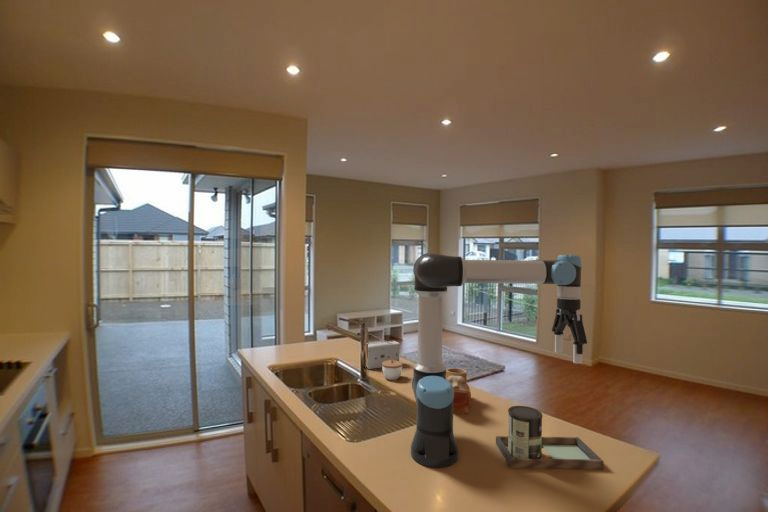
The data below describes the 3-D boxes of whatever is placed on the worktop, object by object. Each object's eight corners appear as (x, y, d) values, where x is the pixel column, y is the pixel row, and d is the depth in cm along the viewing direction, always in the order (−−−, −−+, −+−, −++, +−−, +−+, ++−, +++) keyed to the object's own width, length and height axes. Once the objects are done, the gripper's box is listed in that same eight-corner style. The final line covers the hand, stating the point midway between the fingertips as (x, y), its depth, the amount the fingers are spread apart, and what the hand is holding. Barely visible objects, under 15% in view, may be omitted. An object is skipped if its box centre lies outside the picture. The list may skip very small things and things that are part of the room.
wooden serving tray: (510, 468, 112) (510, 460, 112) (495, 443, 127) (495, 436, 127) (603, 469, 112) (603, 461, 112) (577, 444, 127) (577, 437, 127)
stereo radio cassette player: (394, 362, 221) (394, 328, 220) (400, 366, 213) (401, 331, 213) (361, 366, 212) (362, 331, 211) (367, 370, 204) (367, 334, 204)
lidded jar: (383, 374, 198) (383, 356, 198) (403, 375, 197) (403, 357, 197) (380, 380, 188) (380, 362, 188) (401, 382, 186) (401, 363, 186)
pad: (559, 466, 113) (559, 465, 113) (541, 445, 126) (541, 444, 126) (597, 467, 113) (597, 466, 113) (576, 446, 126) (576, 445, 126)
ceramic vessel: (437, 417, 147) (437, 379, 147) (439, 392, 173) (439, 360, 173) (472, 420, 145) (473, 381, 144) (469, 395, 170) (470, 362, 170)
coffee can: (538, 449, 123) (538, 406, 123) (545, 466, 113) (545, 420, 113) (505, 445, 125) (506, 404, 125) (509, 462, 115) (510, 417, 115)
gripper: (599, 302, 120) (598, 368, 120) (562, 294, 145) (561, 348, 145) (576, 302, 120) (575, 368, 120) (543, 294, 145) (542, 348, 145)
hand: (567, 357), depth 133 cm, fingers open, 13 cm apart
